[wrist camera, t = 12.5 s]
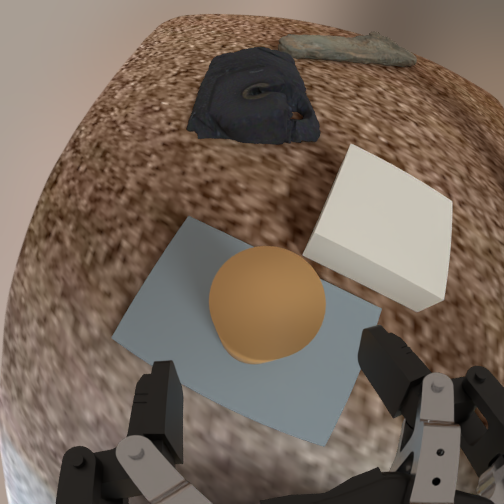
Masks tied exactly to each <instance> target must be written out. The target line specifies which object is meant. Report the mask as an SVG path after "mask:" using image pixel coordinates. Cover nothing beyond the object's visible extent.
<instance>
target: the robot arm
mask: <svg viewBox="0 0 504 504" xmlns="http://www.w3.org/2000/svg"><path fill="white" fill-rule="evenodd" d="M358 363H359V366H360V368H361V369H362V371H363V372H364V374H365V375H366V377H367V378H368V380H369V381H370V383H371V385H372V386H373V388H374V389H375V391H376V392H377V394H378V395H379V397H380V398H381V400H382V402H383V403H384V405H385V406H386V408H387V409H388V411H389V412H390V414H391V416H392V417H393V418H395V417H398V416H400V415H403V416H404V420H403V423H402V429H401V434H400V439H399V444H398V449H397V453H396V457H395V459H394V462H393V464H392V466H391V468H390V471H389V472H381V471H380V469H379V467H377V468H375V469H372V470H370V471H367V472H365V473H362V474H360V475H357V476H354V477H352V478H350V479H349V480H347V481H345V482H344V483H342V484H340V485H339V486H337V487H335V488H333V489H332V490H330V491H328V492H326V493H321V494H303V495H288V496H283V497H278V498H273V499H267V500H261V501H260V504H504V387H503V386H502V385H501V384H500V383H499V382H498V380H497V379H496V378H495V377H494V376H493V375H492V374H491V373H490V371H489V370H487V369H486V368H484V367H482V366H473V367H471V368H470V369H469V370H468V372H467V374H466V375H465V377H460V378H454V379H450V378H449V377H448V376H446V375H444V374H442V373H432V372H431V371H430V370H429V369H428V368H427V367H426V365H425V364H424V363H423V362H422V361H421V360H420V359H419V358H418V356H417V355H416V354H415V353H414V352H412V350H411V349H410V347H408V346H407V344H406V343H405V342H404V341H403V340H402V339H401V338H400V337H398V336H396V335H395V334H393V333H388V332H387V331H386V330H385V329H384V328H383V327H382V326H381V325H375V326H372V327H368V328H365V329H363V331H362V335H361V340H360V345H359V350H358ZM477 407H478V409H479V410H480V412H481V413H482V414H483V416H484V417H485V418H486V420H487V421H488V430H487V428H486V427H485V426H484V424H483V423H482V421H481V420H480V419H479V417H478V416H477V415H476V413H475V412H474V410H475V409H476V408H477ZM460 447H461V448H462V450H463V452H464V453H465V455H466V456H467V458H468V460H469V461H470V463H471V465H472V467H473V468H474V470H475V472H476V473H477V475H478V477H479V483H478V486H477V488H476V493H477V494H478V495H481V496H477V495H473V494H469V493H465V492H462V491H458V490H456V483H457V475H458V465H459V453H460ZM175 464H183V391H182V386H181V383H180V380H179V377H178V374H177V371H176V368H175V365H174V363H173V361H172V360H166V361H154V363H153V367H152V373H151V374H143V376H142V377H141V378H140V380H139V381H138V382H137V385H136V390H135V396H134V400H133V405H132V411H131V417H130V422H129V428H128V434H127V437H126V438H124V439H123V440H122V441H120V443H119V444H118V446H117V447H116V448H114V449H111V450H107V451H102V452H96V453H93V452H92V451H91V450H89V449H88V448H86V447H83V446H76V447H73V448H71V449H69V450H68V451H67V452H66V453H65V454H64V456H63V460H62V465H61V471H60V477H59V483H58V490H57V498H56V504H128V497H133V496H138V495H144V496H145V497H146V499H147V500H148V501H149V503H150V504H212V503H211V502H210V501H209V500H208V499H207V498H206V497H205V496H203V495H202V494H201V493H200V492H199V491H198V490H197V489H196V488H195V487H194V486H193V485H192V484H191V483H189V482H188V481H186V480H185V479H184V478H183V477H182V476H181V475H180V474H179V473H178V472H177V470H176V469H175Z"/></svg>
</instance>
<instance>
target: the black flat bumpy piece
mask: <svg viewBox="0 0 504 504" xmlns="http://www.w3.org/2000/svg"><path fill="white" fill-rule="evenodd" d="M305 91H306V88H305V86H304V82H303V80H302V78H301V77H300V75H299V72H298V71H297V68H296V66H295V61H294V59H293V58H292V56H291V55H290V54H288V53H286V52H281V51H277V50H270V49H269V48H264V47H254V48H248V49H243V50H240V51H237V52H234V53H226V54H222V55H220V56H216V57H215V58H213V60H212V61H211V63H210V65H209V70H208V71H207V73H206V74H205V78H204V79H203V81H202V83H201V86H200V89H199V91H198V96H197V98H196V101H195V104H194V107H193V111H192V113H191V116H190V119H189V122H188V126H187V130H188V131H195V132H196V133H197V134H198V139H204V138H214V139H232V140H236V141H238V142H242V143H254V144H259V143H261V144H277V145H278V144H283V143H284V142H286V143H291V141H292V142H299V143H301V140H303V141H314V142H316V141H317V140H318V138H319V137H320V130H319V127H320V126H319V122H318V120H317V117H316V115H315V111H314V109H313V108H312V105H311V103H310V101H309V99H308V98H307V96H306V93H305ZM292 112H298V113H300V114H301V115H302V116H303V119H301V120H297V119H290V118H291V117H292V116H293V113H292Z"/></svg>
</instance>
